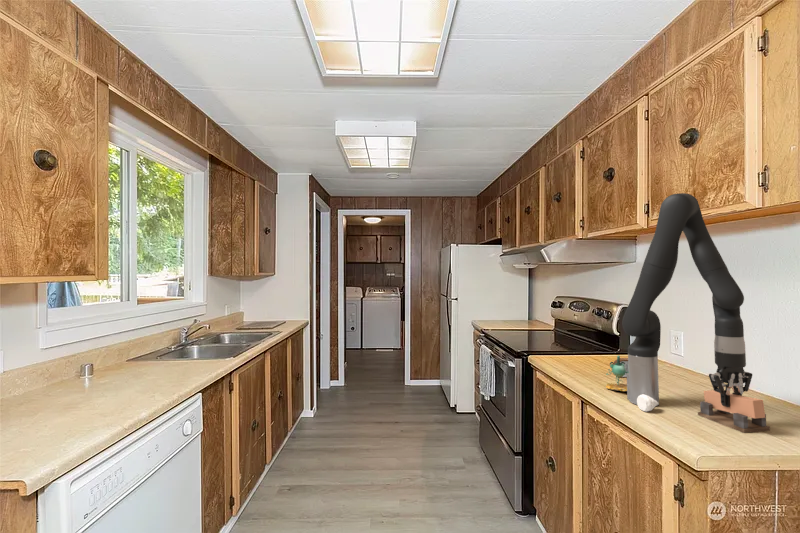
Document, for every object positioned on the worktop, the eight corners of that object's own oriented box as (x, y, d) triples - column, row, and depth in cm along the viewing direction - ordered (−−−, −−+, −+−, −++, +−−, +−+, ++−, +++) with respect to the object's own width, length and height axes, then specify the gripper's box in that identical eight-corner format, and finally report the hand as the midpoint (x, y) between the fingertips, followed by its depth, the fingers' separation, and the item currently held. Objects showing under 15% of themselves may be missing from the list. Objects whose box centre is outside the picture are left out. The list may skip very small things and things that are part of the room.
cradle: (697, 415, 133) (697, 401, 133) (721, 412, 135) (720, 399, 135) (744, 433, 118) (743, 417, 118) (769, 430, 120) (769, 414, 120)
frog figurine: (618, 397, 152) (614, 357, 154) (599, 389, 170) (596, 353, 172) (645, 397, 152) (641, 357, 153) (623, 388, 169) (619, 352, 171)
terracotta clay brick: (755, 418, 117) (752, 400, 118) (705, 406, 133) (703, 390, 134) (765, 417, 118) (762, 399, 118) (714, 405, 134) (712, 390, 134)
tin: (648, 377, 179) (648, 357, 179) (651, 378, 176) (651, 359, 176) (612, 376, 182) (611, 357, 182) (614, 378, 179) (614, 359, 179)
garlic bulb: (663, 412, 136) (663, 396, 136) (648, 413, 135) (647, 397, 135) (650, 406, 142) (650, 391, 142) (635, 408, 140) (635, 392, 140)
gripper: (721, 353, 122) (723, 411, 121) (761, 351, 124) (763, 408, 124) (699, 349, 129) (701, 403, 129) (737, 346, 131) (739, 400, 131)
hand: (731, 405), depth 126 cm, fingers closed on terracotta clay brick, 3 cm apart
